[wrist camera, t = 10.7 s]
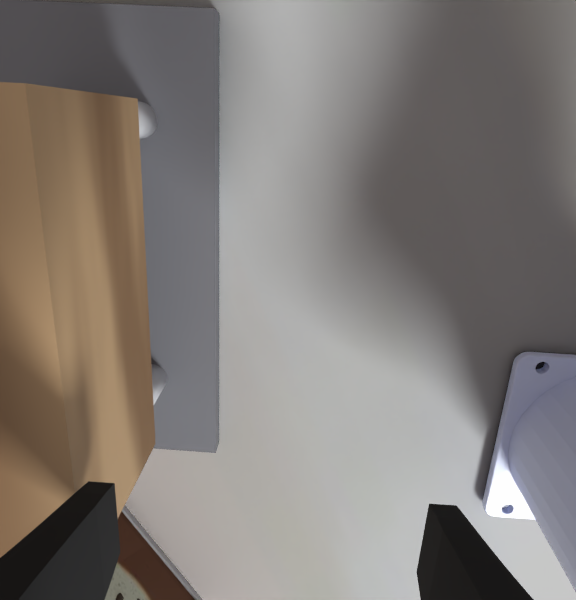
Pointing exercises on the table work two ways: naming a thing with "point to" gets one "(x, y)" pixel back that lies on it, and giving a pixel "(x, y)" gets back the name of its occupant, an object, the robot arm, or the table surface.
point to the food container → (144, 568)
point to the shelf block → (70, 302)
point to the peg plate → (151, 172)
